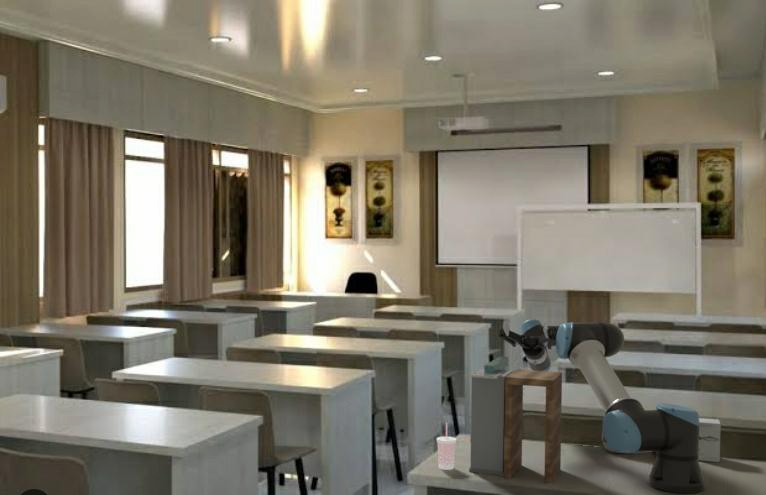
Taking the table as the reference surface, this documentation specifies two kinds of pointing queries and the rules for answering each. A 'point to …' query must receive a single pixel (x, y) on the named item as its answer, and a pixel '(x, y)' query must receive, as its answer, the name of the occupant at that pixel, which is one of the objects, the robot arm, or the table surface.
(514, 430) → the riser
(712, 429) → the supplement box
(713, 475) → the table surface
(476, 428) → the pedestal
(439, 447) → the beverage cup
